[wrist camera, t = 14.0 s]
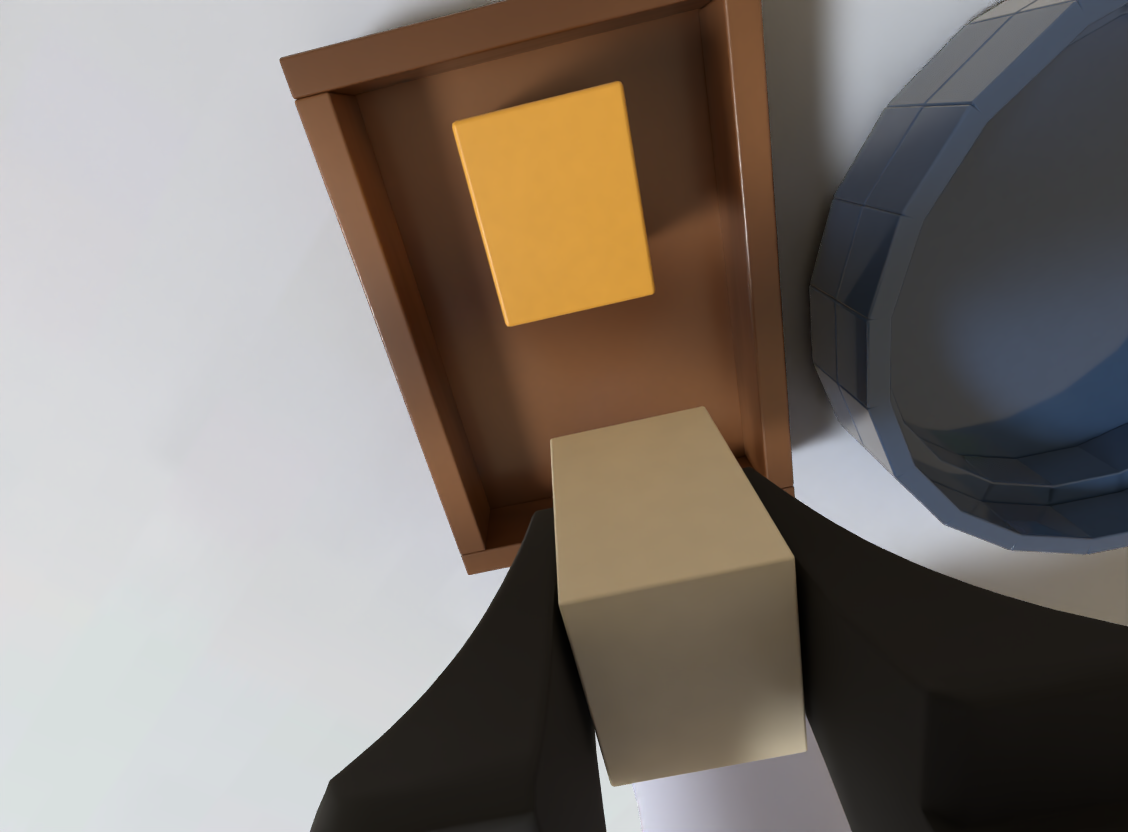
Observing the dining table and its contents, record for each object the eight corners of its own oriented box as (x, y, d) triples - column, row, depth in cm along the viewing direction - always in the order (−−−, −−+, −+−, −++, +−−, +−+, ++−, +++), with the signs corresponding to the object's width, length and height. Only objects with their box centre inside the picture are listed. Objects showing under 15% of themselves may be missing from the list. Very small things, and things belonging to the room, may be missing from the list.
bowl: (1255, 430, 21) (1402, 494, 18) (813, 520, 22) (868, 599, 18) (1424, -124, 15) (1715, -204, 11) (788, 33, 16) (865, 7, 12)
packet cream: (724, 559, 14) (808, 752, 10) (588, 586, 14) (610, 788, 10) (704, 405, 12) (795, 556, 8) (549, 438, 13) (558, 603, 8)
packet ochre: (625, 250, 17) (657, 294, 13) (513, 276, 17) (506, 329, 13) (598, 91, 15) (622, 79, 11) (473, 121, 16) (449, 121, 11)
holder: (764, 462, 21) (796, 508, 18) (475, 522, 21) (468, 576, 19) (720, -34, 15) (758, -66, 12) (319, 68, 15) (277, 58, 13)
